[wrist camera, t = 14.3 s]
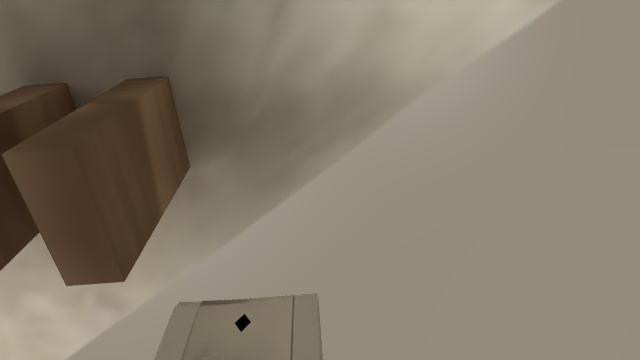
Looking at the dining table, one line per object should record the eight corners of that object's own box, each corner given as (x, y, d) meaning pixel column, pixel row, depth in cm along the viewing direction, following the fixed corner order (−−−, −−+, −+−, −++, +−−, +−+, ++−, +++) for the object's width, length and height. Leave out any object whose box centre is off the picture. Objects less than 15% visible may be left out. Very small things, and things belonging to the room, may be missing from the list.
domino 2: (153, 169, 21) (66, 286, 13) (127, 79, 19) (1, 154, 11) (189, 167, 21) (124, 281, 13) (168, 76, 19) (72, 149, 11)
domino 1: (62, 176, 21) (-81, 296, 13) (24, 85, 19) (-179, 166, 11) (99, 173, 21) (-22, 292, 13) (65, 83, 19) (-107, 161, 11)
